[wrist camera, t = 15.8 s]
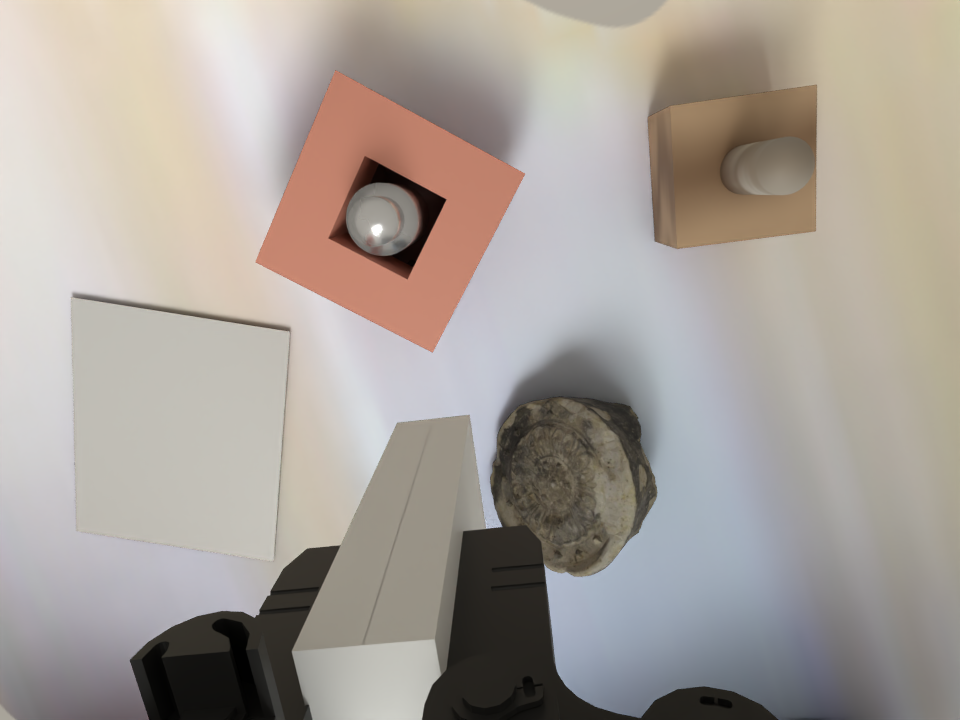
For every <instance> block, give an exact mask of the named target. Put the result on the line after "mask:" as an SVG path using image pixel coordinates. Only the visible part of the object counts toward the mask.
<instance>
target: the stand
mask: <svg viewBox="0 0 960 720" xmlns="http://www.w3.org/2000/svg"><path fill="white" fill-rule="evenodd" d="M816 123H817V85H812V86H805V87H798V88H791V89H784V90H777V91H770V92H763V93H756V94H749V95H742V96H735V97H728V98H721V99H714V100H707V101H700V102H693V103H686V104H679V105H672V106H669V107H667V108H665V109H663V110H661V111H659V112H657V113H655V114H653V115H651V116H649V117H648V133H649V150H650V167H651V184H652V201H653V218H654V235H655V241H656V242H659V243H661V244H664V245H667V246H670V247H673V248H676V249H680V248H688V247H696V246H703V245H711V244H719V243H727V242H735V241H743V240H751V239H759V238H766V237H774V236H782V235H790V234H798V233H806V232H814V231H816Z"/></svg>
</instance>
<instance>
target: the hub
mask: <svg viewBox="0 0 960 720" xmlns="http://www.w3.org/2000/svg"><path fill="white" fill-rule="evenodd" d="M446 200H447V199H445V198H443V197H441V196H439V195H437V194H436V193H434V192H432V191H430V190H428V189H426V188H424V187H422V186H421V185H419V184H417V183H415V182H413V181H411V180H409V179H408V178H406V177H404V176H402V175H400V174H398V173H396V172H394V171H393V170H391V169H389V168H387V167H385V166H383V165H381V164H380V163H379V165H378V167H377V169H376V171H375V174H374V176H373V178H372V180H371V182H370V184H369V185H366V186H365V187H363V188H361V189H360V190H358V191H357V192H356V193H355V194H354V196H353V197H352V198H351V200H350V202H349V204H348V207H347V211H346V224H347V228H348V234H350V236H351V238H352V239H353V241H354V242H355V243H356V244H357V245H358V246H359V247H360V248H361V249H363V250H364V251H366V252H368V253H370V254H373V255H378V256H388V255H391V256H393V257H394V258H396V259H398V260H400V261H402V262H404V263H406V264H408V265H410V266H412V267H414V265H415V263H416V261H417V259H418V257H419V255H420V253H421V251H422V249H423V247H424V245H425V243H426V241H427V239H428V237H429V235H430V233H431V231H432V229H433V227H434V224H435V222H436V220H437V218H438V216H439V214H440V212H441V210H442V208H443V206H444V204H445V202H446Z"/></svg>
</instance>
